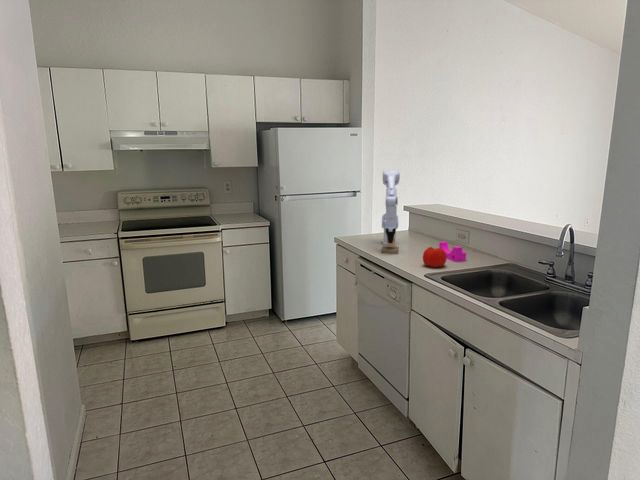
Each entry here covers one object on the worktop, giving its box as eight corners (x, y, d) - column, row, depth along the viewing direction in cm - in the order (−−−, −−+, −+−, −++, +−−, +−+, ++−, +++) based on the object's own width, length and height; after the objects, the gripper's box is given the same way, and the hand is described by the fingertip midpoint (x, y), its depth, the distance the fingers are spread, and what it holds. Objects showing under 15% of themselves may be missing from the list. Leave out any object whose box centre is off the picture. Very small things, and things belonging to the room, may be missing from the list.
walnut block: (382, 251, 256) (382, 245, 255) (398, 251, 254) (398, 246, 254) (381, 254, 247) (381, 249, 247) (398, 255, 246) (398, 250, 245)
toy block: (465, 261, 231) (466, 246, 230) (455, 262, 229) (456, 247, 228) (448, 254, 245) (449, 241, 244) (438, 255, 243) (439, 242, 242)
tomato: (450, 267, 219) (451, 249, 217) (429, 270, 215) (430, 251, 213) (437, 262, 229) (438, 245, 227) (417, 264, 225) (418, 247, 223)
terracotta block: (386, 244, 252) (386, 235, 251) (394, 244, 252) (395, 235, 251) (386, 246, 248) (386, 237, 247) (394, 246, 247) (395, 237, 246)
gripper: (384, 215, 254) (383, 239, 257) (383, 219, 240) (382, 244, 243) (396, 216, 253) (396, 239, 256) (396, 220, 239) (395, 244, 242)
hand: (390, 242), depth 250 cm, fingers closed on terracotta block, 4 cm apart
